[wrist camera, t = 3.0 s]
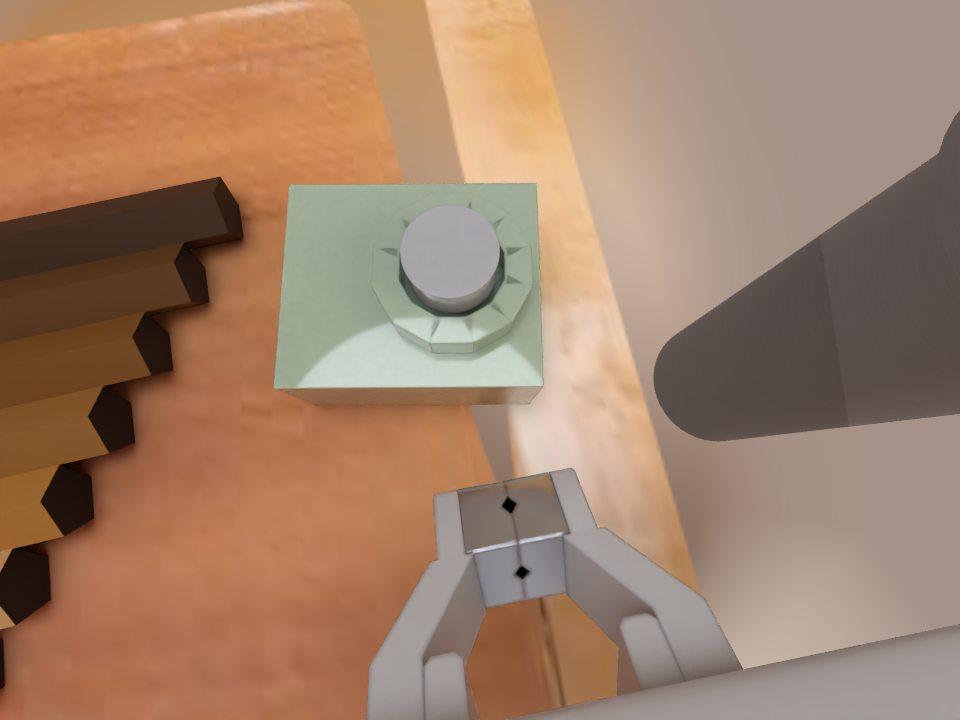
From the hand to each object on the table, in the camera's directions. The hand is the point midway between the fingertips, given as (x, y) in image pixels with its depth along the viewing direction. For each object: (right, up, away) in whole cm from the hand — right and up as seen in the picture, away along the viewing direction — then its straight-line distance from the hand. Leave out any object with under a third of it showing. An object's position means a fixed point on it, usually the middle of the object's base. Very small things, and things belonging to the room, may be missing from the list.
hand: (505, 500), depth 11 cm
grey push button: (-2, +7, +12) cm, 14 cm away
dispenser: (-4, +5, +19) cm, 20 cm away
